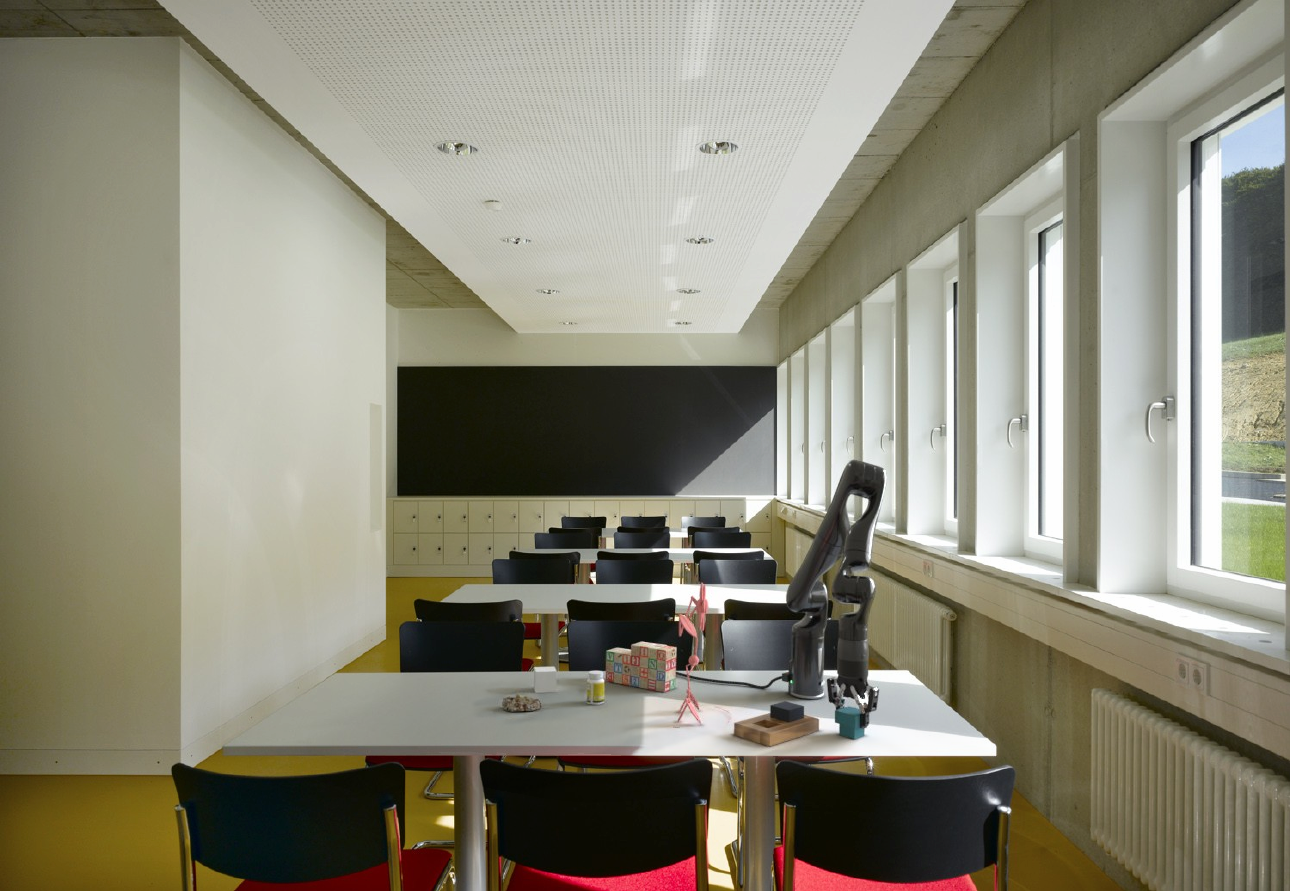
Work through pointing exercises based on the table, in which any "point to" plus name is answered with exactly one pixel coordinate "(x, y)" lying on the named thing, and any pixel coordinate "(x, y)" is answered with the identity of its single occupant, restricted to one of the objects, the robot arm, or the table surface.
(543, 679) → the white cube
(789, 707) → the dark grey cube
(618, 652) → the stack of blocks
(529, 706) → the mineral rock
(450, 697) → the table surface
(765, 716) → the block
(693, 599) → the figurine
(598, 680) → the supplement bottle
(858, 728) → the teal stepped block
